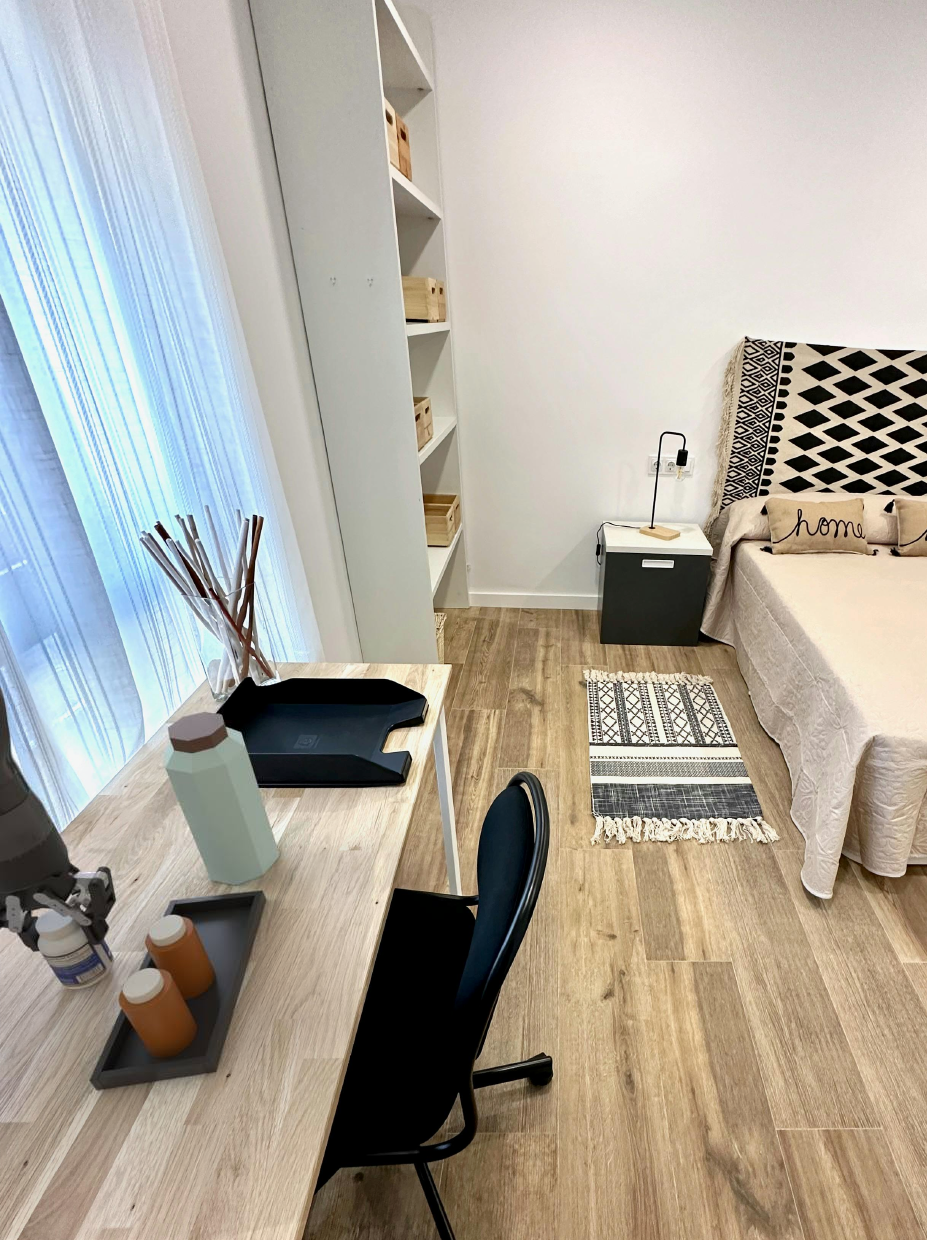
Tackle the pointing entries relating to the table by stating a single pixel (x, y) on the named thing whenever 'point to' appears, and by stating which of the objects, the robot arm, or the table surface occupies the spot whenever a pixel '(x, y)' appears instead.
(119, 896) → the table surface
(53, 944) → the pill bottle
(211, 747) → the water bottle
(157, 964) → the amber bottle mid
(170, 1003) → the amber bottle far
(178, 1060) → the tray
